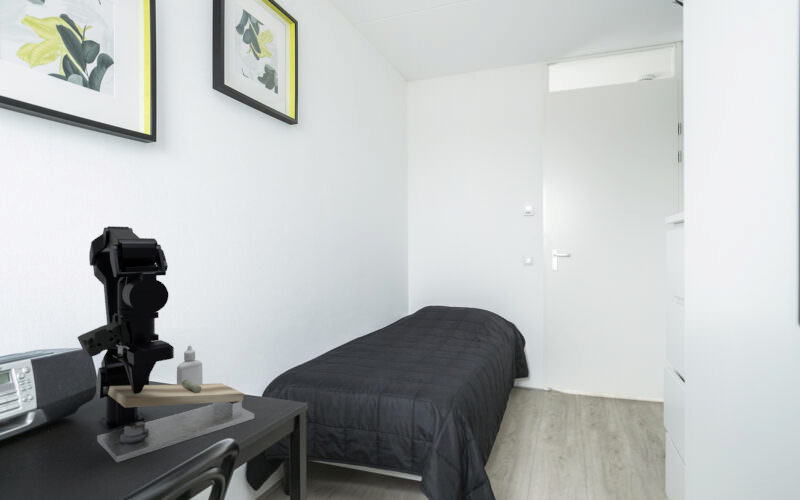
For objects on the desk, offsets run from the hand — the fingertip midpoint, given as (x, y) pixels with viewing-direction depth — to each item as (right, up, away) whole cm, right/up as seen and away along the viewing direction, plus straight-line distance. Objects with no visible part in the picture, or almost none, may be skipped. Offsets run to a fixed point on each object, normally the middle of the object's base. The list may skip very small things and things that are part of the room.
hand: (137, 392), depth 79 cm
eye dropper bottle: (-3, -10, +27) cm, 29 cm away
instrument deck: (+4, -3, +7) cm, 9 cm away
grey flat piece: (+4, -10, +7) cm, 12 cm away
